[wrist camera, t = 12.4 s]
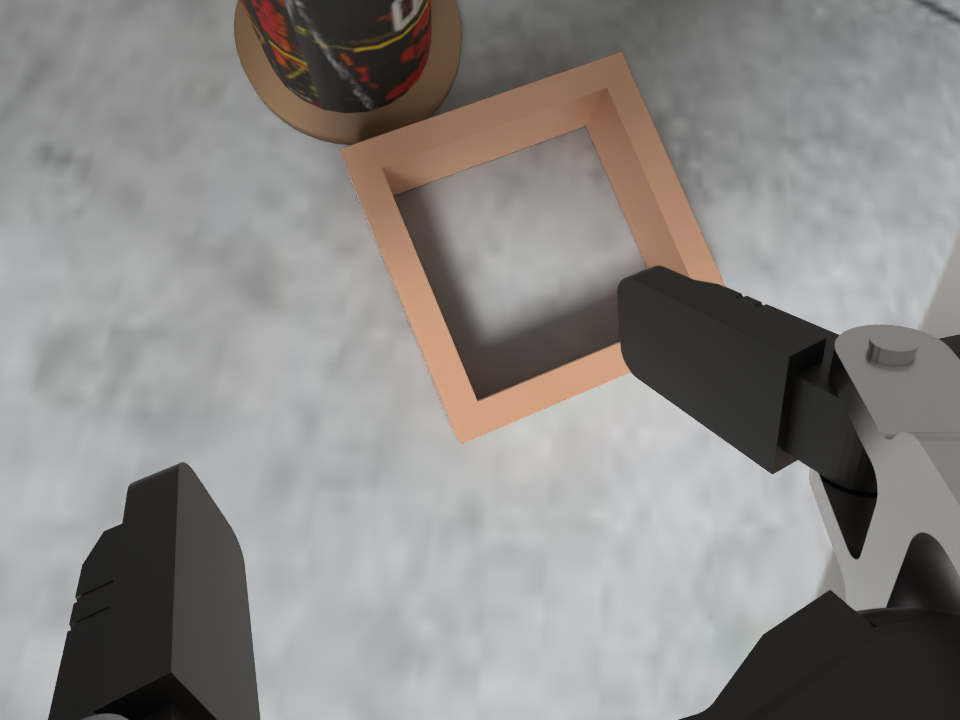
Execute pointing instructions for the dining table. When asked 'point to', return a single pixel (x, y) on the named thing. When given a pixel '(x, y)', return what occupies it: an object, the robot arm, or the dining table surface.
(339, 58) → the deodorant
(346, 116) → the coaster
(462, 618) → the dining table surface
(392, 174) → the orange square frame
